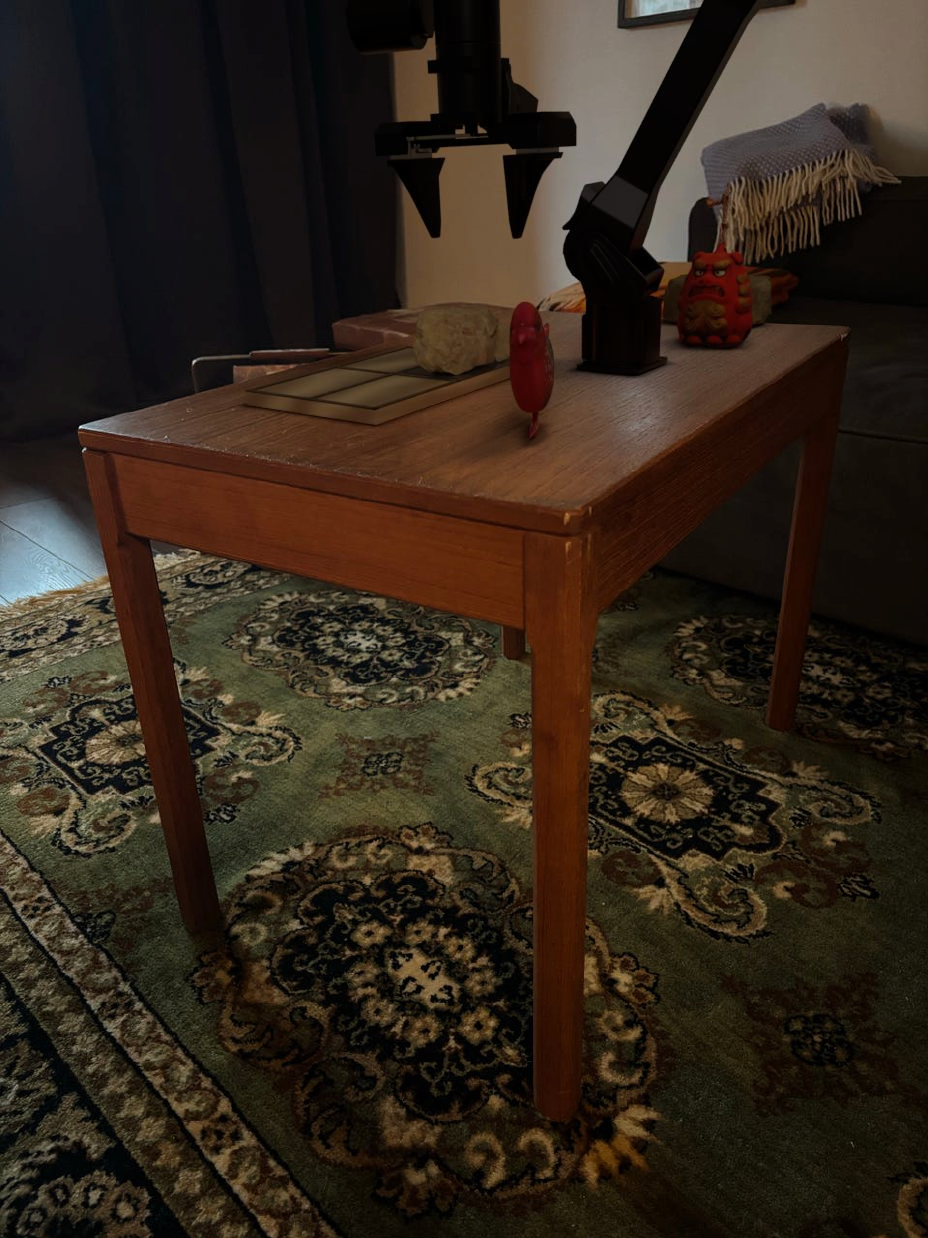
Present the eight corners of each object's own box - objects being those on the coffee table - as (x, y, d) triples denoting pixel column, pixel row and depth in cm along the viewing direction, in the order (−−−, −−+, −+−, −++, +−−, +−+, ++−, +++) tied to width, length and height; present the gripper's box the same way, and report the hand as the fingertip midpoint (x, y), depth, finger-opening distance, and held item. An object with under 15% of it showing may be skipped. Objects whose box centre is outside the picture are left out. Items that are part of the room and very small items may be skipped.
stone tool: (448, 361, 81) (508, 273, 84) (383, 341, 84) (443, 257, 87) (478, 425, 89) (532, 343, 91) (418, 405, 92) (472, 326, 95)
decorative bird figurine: (502, 461, 65) (497, 307, 61) (530, 399, 81) (528, 273, 77) (544, 461, 65) (543, 306, 61) (565, 399, 81) (565, 272, 76)
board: (530, 370, 91) (530, 356, 91) (376, 425, 76) (374, 408, 75) (408, 358, 100) (408, 345, 99) (247, 405, 84) (245, 390, 83)
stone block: (678, 315, 115) (680, 271, 113) (774, 320, 110) (778, 274, 107) (659, 323, 111) (661, 278, 109) (758, 329, 105) (762, 281, 103)
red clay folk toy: (666, 347, 98) (673, 186, 92) (688, 335, 104) (696, 182, 97) (741, 351, 95) (754, 184, 88) (760, 338, 100) (773, 180, 93)
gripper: (607, 39, 85) (604, 230, 92) (436, 59, 95) (444, 230, 101) (543, 32, 77) (544, 242, 83) (363, 54, 86) (377, 240, 93)
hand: (475, 238), depth 91 cm, fingers open, 9 cm apart
